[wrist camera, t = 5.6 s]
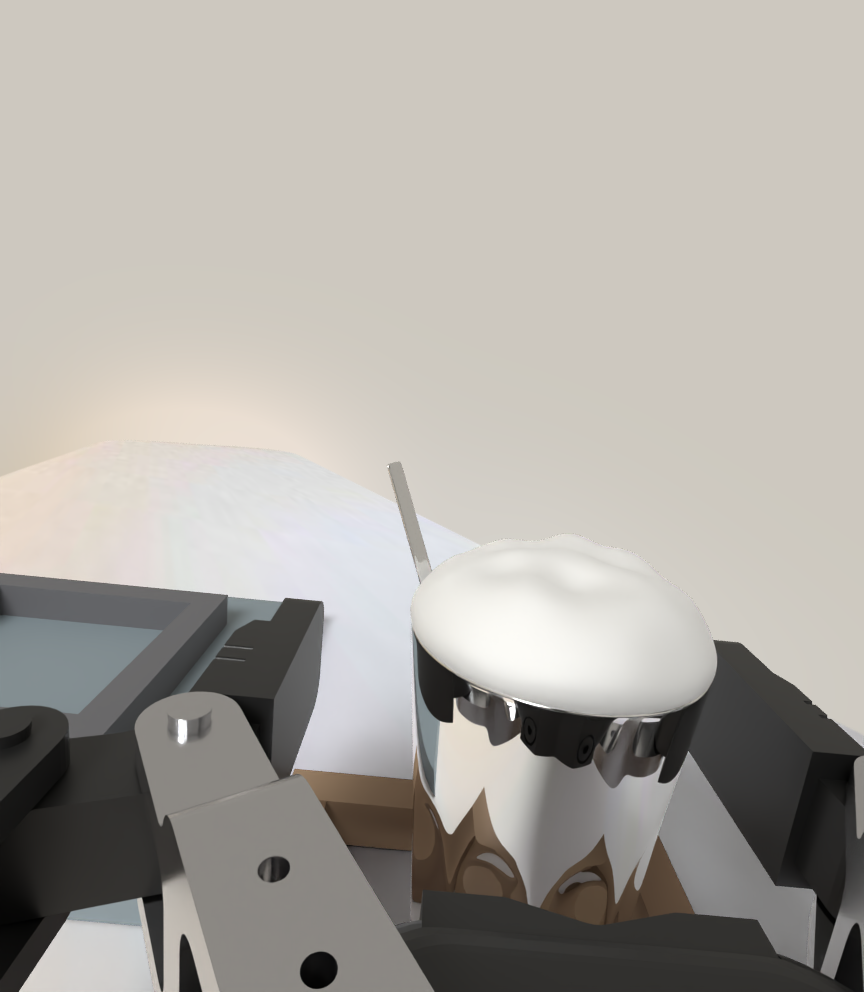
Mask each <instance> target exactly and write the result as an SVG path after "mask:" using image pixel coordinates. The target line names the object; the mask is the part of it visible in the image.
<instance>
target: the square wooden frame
mask: <svg viewBox="0 0 864 992" xmlns="http://www.w3.org/2000/svg"><path fill="white" fill-rule="evenodd" d="M294 774H300V775H302V776H303V777H304V778H305V779H306V780H307V782H308V783H309V785H310V786H311V788H312V790H313V791H314V793H315V795H316V796H317V798H318V800H319V801H320V803H321V805H322V806H323V808H324V810H325V811H326V813H327V815H328V816H329V818H330V819H331V821H332V823H333V824H334V826H335V828H336V829H337V831H338V833H339V834H340V836H341V838H342V839H343V841H344V843H345V844H346V845H354V846H365V847H376V848H386V849H397V850H408V851H412V816H413V780H408V779H398V778H387V777H376V776H365V775H355V774H344V773H333V772H322V771H312V770H301V769H295V770H294V772H293V775H294ZM675 912H676V913H687V914H695V913H694V911H693V909H692V907H691V905H690V903H689V900H688V898H687V896H686V894H685V892H684V890H683V887H682V885H681V883H680V881H679V879H678V877H677V875H676V872H675V870H674V868H673V866H672V864H671V862H670V860H669V857H668V855H667V853H666V851H665V849H664V847H663V844H662V842H661V840H660V838H659V836H657V839H656V842H655V845H654V848H653V852H652V855H651V858H650V861H649V864H648V868H647V871H646V874H645V877H644V880H643V884H642V887H641V890H640V893H639V896H638V900H637V903H636V906H635V909H634V912H633V916H632V919H631V920H635V919H641V918H646V917H652V916H658V915H664V914H669V913H675Z"/></svg>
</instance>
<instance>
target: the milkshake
mask: <svg viewBox="0 0 864 992" xmlns="http://www.w3.org/2000/svg"><path fill="white" fill-rule="evenodd" d="M387 466H388V471H389V475H390V479H391V482H392V486H393V490H394V493H395V497H396V500H397V504H398V507H399V511H400V514H401V518H402V521H403V525H404V528H405V532H406V535H407V539H408V542H409V546H410V549H411V553H412V556H413V560H414V563H415V567H416V570H417V574H418V577H419V581H420V585H419V587H418V588H417V590H416V591H415V593H414V596H413V599H412V603H411V610H410V611H411V666H412V754H413V816H412V860H411V902H410V922H411V921H416V920H419V918H420V909H421V901H422V892H423V890H433V891H444V892H455V893H466V894H477V895H488V896H499V897H507V898H510V899H513V900H516V901H519V902H522V903H526V904H529V905H532V906H535V907H538V908H541V909H544V910H548V911H551V912H554V913H557V914H560V915H563V916H566V917H570V918H573V919H576V920H579V921H582V922H585V923H589V924H593V925H606V924H612V923H618V922H623V921H629V920H631V919H632V916H633V912H634V909H635V906H636V903H637V900H638V896H639V893H640V890H641V887H642V884H643V880H644V877H645V874H646V871H647V868H648V864H649V861H650V858H651V855H652V852H653V848H654V845H655V842H656V839H657V836H658V833H659V830H660V828H661V825H662V822H663V819H664V816H665V814H666V811H667V808H668V805H669V802H670V800H671V797H672V794H673V791H674V789H675V786H676V783H677V780H678V777H679V775H680V772H681V769H682V766H683V763H684V761H685V758H686V755H687V752H688V749H689V747H690V744H691V741H692V738H693V736H694V733H695V730H696V727H697V724H698V722H699V719H700V716H701V713H702V710H703V708H704V705H705V702H706V699H707V696H708V693H709V690H710V687H711V684H712V681H713V679H714V677H715V673H716V668H717V654H716V648H715V645H714V641H713V638H712V636H711V633H710V630H709V628H708V626H707V624H706V622H705V619H704V617H703V616H702V614H701V612H700V610H699V609H698V607H697V606H696V604H695V603H694V601H693V600H692V598H691V597H690V596H689V595H688V594H686V593H685V592H684V591H683V590H681V589H680V588H679V587H677V586H676V585H674V584H673V583H671V582H669V581H667V580H666V579H665V578H664V577H663V576H662V575H661V574H660V573H659V572H658V571H657V570H656V569H655V568H654V567H653V566H651V565H650V564H649V563H648V562H647V561H646V560H644V559H643V558H642V557H640V556H638V555H637V554H635V553H633V552H630V551H628V550H625V549H620V548H614V547H607V546H603V545H600V544H598V543H596V542H594V541H592V540H590V539H588V538H585V537H583V536H581V535H577V534H571V533H567V534H560V535H556V536H553V537H550V538H547V539H543V540H538V541H525V540H517V539H501V540H497V541H493V542H491V543H488V544H485V545H482V546H480V547H477V548H475V549H473V550H470V551H468V552H465V553H461V554H458V555H455V556H453V557H451V558H449V559H447V560H446V561H444V562H443V563H441V564H440V565H439V566H437V567H436V568H435V569H434V570H433V571H432V570H431V566H430V563H429V559H428V556H427V552H426V549H425V545H424V542H423V538H422V535H421V531H420V528H419V524H418V521H417V517H416V513H415V510H414V507H413V503H412V500H411V496H410V492H409V489H408V486H407V482H406V478H405V475H404V471H403V468H402V465H401V463H400V462H395V463H391V464H388V465H387Z"/></svg>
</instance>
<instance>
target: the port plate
mask: <svg viewBox="0 0 864 992" xmlns="http://www.w3.org/2000/svg"><path fill="white" fill-rule="evenodd" d="M281 604H282V602H275V601H265V600H255V599H245V598H234V597H228V595H221V594H211V593H201V592H190V591H180V590H170V589H159V588H149V587H139V586H128V585H118V584H108V583H98V582H87V581H77V580H67V579H56V578H46V577H36V576H25V575H15V574H5V573H0V709H5V708H10V707H17V706H29V705H34V706H45V707H50V708H54V709H57V710H59V711H61V712H62V713H63V714H64V715H66V717H67V719H68V723H69V738H77V737H87V736H96V735H105V734H114V733H121V732H126V731H131V730H135V723H136V720H137V718H138V717H139V715H140V714H141V713H142V712H143V711H144V710H145V709H146V708H148V707H149V706H150V705H152V704H154V703H155V702H157V701H160V700H162V699H164V698H167V697H170V696H173V695H177V694H181V693H187V692H189V691H190V690H191V688H192V687H193V686H194V684H195V683H196V682H197V680H198V679H199V678H200V676H201V675H202V674H203V672H204V671H205V670H206V668H207V667H208V666H209V664H210V663H211V662H212V660H213V659H215V658H216V655H217V654H218V652H219V651H220V650H221V648H222V647H224V644H225V643H226V642H227V640H228V639H229V638H230V636H231V635H232V634H233V632H234V631H235V630H237V629H238V628H240V627H242V626H244V625H246V624H247V623H249V622H251V621H253V620H265V621H271V619H272V618H273V616H274V614H275V613H276V611H277V610H278V608H279V607H280V605H281ZM67 919H69V920H80V921H92V922H103V923H114V924H125V925H136V926H142V924H141V919H140V914H139V908H138V903H137V899H132V900H127V901H122V902H116V903H111V904H106V905H101V906H96V907H91V908H86V909H81V910H76V911H71V912H70V914H69V916H68V918H67Z"/></svg>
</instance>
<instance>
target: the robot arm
mask: <svg viewBox="0 0 864 992" xmlns="http://www.w3.org/2000/svg"><path fill="white" fill-rule="evenodd" d="M323 618H324V605H323V602H322V601H312V600H302V599H292V598H285V599H284V600H283V602H282V604H281V605H280V607H279V608H278V610H277V611H276V613H275V614H274V616H273V618H272V619H271V621H265V620H253V621H251V622H249V623H247V624H246V625H244V626H242V627H240V628H238V629H237V630H235V631H234V632H233V634H232V635H231V636H230V638H229V639H228V640H227V642H226V643H225V644H224V647H222V648H221V650H220V651H219V652H218V654H217V655H216V658H215V659H213V660H212V662H211V663H210V664H209V666H208V667H207V668H206V670H205V671H204V672H203V674H202V675H201V676H200V678H199V679H198V680H197V682H196V683H195V684H194V686H193V687H192V688H191V690H190V691H189V692H187V693H181V694H177V695H173V696H170V697H167V698H164V699H162V700H160V701H157V702H155V703H154V704H152V705H150V706H149V707H148V708H146V709H145V710H144V711H143V712H142V713H141V714H140V715H139V717H138V718H137V720H136V723H135V730H131V731H126V732H121V733H114V734H105V735H96V736H87V737H77V738H69V723H68V719H67V717H66V715H64V714H63V713H62V712H61V711H59V710H57V709H54V708H50V707H45V706H34V705H29V706H17V707H10V708H5V709H0V992H19V990H20V989H21V987H22V986H23V984H24V983H25V981H26V980H27V978H28V977H29V975H30V974H31V972H32V971H33V969H34V968H35V966H36V965H37V963H38V962H39V960H40V959H41V957H42V956H43V954H44V953H45V951H46V949H47V948H48V946H49V945H50V943H51V942H52V940H53V939H54V937H55V936H56V934H57V933H58V931H59V930H60V928H61V927H62V925H63V924H64V922H65V921H66V919H67V918H68V916H69V914H70V912H71V911H76V910H81V909H86V908H91V907H96V906H101V905H106V904H111V903H116V902H122V901H127V900H132V899H137V903H138V908H139V914H140V919H141V924H142V930H143V935H144V941H145V946H146V951H147V957H148V962H149V967H150V973H151V978H152V983H153V989H154V992H864V748H862V747H861V746H860V745H859V744H858V743H857V742H856V741H855V740H854V739H853V738H851V737H850V736H849V735H848V734H847V733H846V732H845V731H844V730H843V729H842V728H840V727H839V726H838V725H837V724H836V723H835V722H834V721H833V720H832V719H828V718H827V715H826V714H825V713H824V712H823V711H822V710H821V709H820V708H818V707H817V706H816V705H812V701H811V700H810V699H809V698H808V697H806V696H805V695H804V694H803V693H802V692H801V691H800V690H799V689H798V688H797V687H795V686H794V685H793V684H791V683H789V682H788V681H786V680H784V679H783V678H781V677H779V676H777V675H776V674H774V673H773V672H771V671H770V670H769V669H768V668H767V667H766V666H765V665H764V664H763V663H762V662H761V661H760V660H759V659H758V658H756V657H755V656H754V655H753V654H752V653H751V652H750V651H749V650H748V649H747V648H745V647H744V646H743V645H742V644H741V643H738V642H728V641H727V642H726V641H717V640H713V641H714V645H715V648H716V654H717V668H716V673H715V677H714V679H713V681H712V684H711V687H710V690H709V693H708V696H707V699H706V702H705V705H704V708H703V710H702V713H701V716H700V719H699V722H698V724H697V727H696V730H695V733H694V736H693V738H692V741H691V744H690V747H689V749H688V751H689V752H690V754H691V755H692V757H693V758H694V760H695V761H696V763H697V764H698V766H699V768H700V769H701V771H702V772H703V774H704V775H705V777H706V778H707V780H708V782H709V783H710V785H711V786H712V788H713V789H714V791H715V792H716V794H717V796H718V797H719V799H720V800H721V802H722V803H723V805H724V806H725V808H726V809H727V811H728V813H729V814H730V816H731V817H732V819H733V820H734V822H735V823H736V825H737V827H738V828H739V830H740V831H741V833H742V834H743V836H744V837H745V839H746V840H747V842H748V844H749V845H750V847H751V848H752V850H753V851H754V853H755V854H756V856H757V858H758V859H759V861H760V862H761V864H762V865H763V867H764V868H765V870H766V872H767V873H768V875H769V876H770V878H771V879H772V881H773V882H774V884H775V885H776V886H785V887H796V888H807V889H813V890H814V892H815V896H814V900H813V903H812V906H811V910H810V914H809V924H808V941H807V959H806V965H804V964H802V963H800V962H797V961H795V960H792V959H790V958H788V957H785V956H782V955H779V954H776V952H775V950H774V948H773V947H772V945H771V943H770V942H769V940H768V938H767V936H766V935H765V933H764V931H763V929H762V928H761V926H760V924H759V922H758V921H757V920H754V919H743V918H732V917H720V916H709V915H698V914H687V913H676V912H675V913H669V914H664V915H658V916H652V917H646V918H641V919H635V920H629V921H623V922H618V923H612V924H606V925H593V924H589V923H585V922H582V921H579V920H576V919H573V918H570V917H566V916H563V915H560V914H557V913H554V912H551V911H548V910H544V909H541V908H538V907H535V906H532V905H529V904H526V903H522V902H519V901H516V900H513V899H510V898H507V897H499V896H488V895H477V894H466V893H455V892H444V891H433V890H423V892H422V901H421V909H420V918H419V920H416V921H411V922H406V923H402V924H399V925H394V924H393V922H392V920H391V919H390V917H389V916H388V914H387V912H386V911H385V909H384V907H383V906H382V904H381V902H380V901H379V899H378V897H377V896H376V894H375V892H374V891H373V889H372V887H371V886H370V884H369V882H368V881H367V879H366V877H365V876H364V874H363V872H362V871H361V869H360V868H359V866H358V864H357V863H356V861H355V859H354V858H353V856H352V854H351V853H350V851H349V849H348V848H347V846H346V844H345V843H344V841H343V839H342V838H341V836H340V834H339V833H338V831H337V829H336V828H335V826H334V824H333V823H332V821H331V819H330V818H329V816H328V815H327V813H326V811H325V810H324V808H323V806H322V805H321V803H320V801H319V800H318V798H317V796H316V795H315V793H314V791H313V790H312V788H311V786H310V785H309V783H308V782H307V780H306V779H305V778H304V777H303V776H302V775H300V774H294V775H291V776H290V774H291V771H292V768H293V765H294V762H295V760H296V757H297V754H298V751H299V748H300V746H301V743H302V740H303V737H304V734H305V731H306V729H307V726H308V723H309V720H310V717H311V715H312V712H313V709H314V706H315V702H316V698H317V693H318V686H319V679H320V665H321V650H322V634H323Z"/></svg>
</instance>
